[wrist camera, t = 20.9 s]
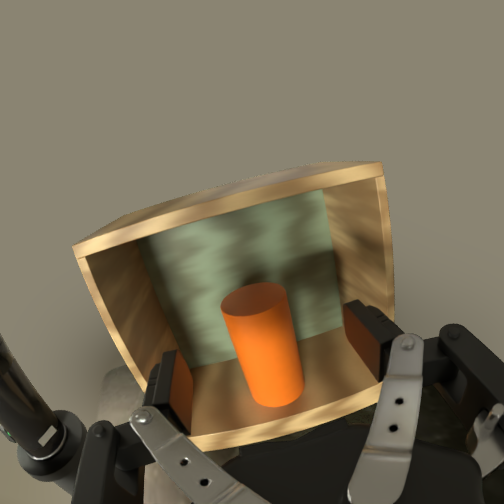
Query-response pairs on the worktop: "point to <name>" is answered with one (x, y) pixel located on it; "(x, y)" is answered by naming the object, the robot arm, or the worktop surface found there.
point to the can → (265, 342)
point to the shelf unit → (246, 273)
